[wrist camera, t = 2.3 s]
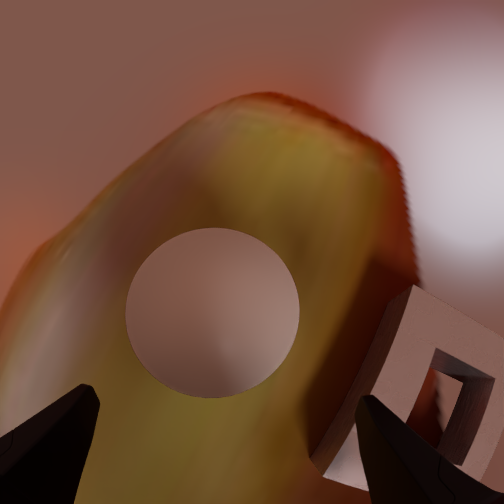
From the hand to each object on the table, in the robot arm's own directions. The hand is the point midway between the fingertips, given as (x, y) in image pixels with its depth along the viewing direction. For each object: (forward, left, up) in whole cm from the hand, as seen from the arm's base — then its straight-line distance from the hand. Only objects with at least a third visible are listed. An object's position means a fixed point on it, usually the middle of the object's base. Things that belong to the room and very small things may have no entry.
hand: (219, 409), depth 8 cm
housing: (+4, -13, -10) cm, 17 cm away
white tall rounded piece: (+2, +1, -10) cm, 10 cm away
